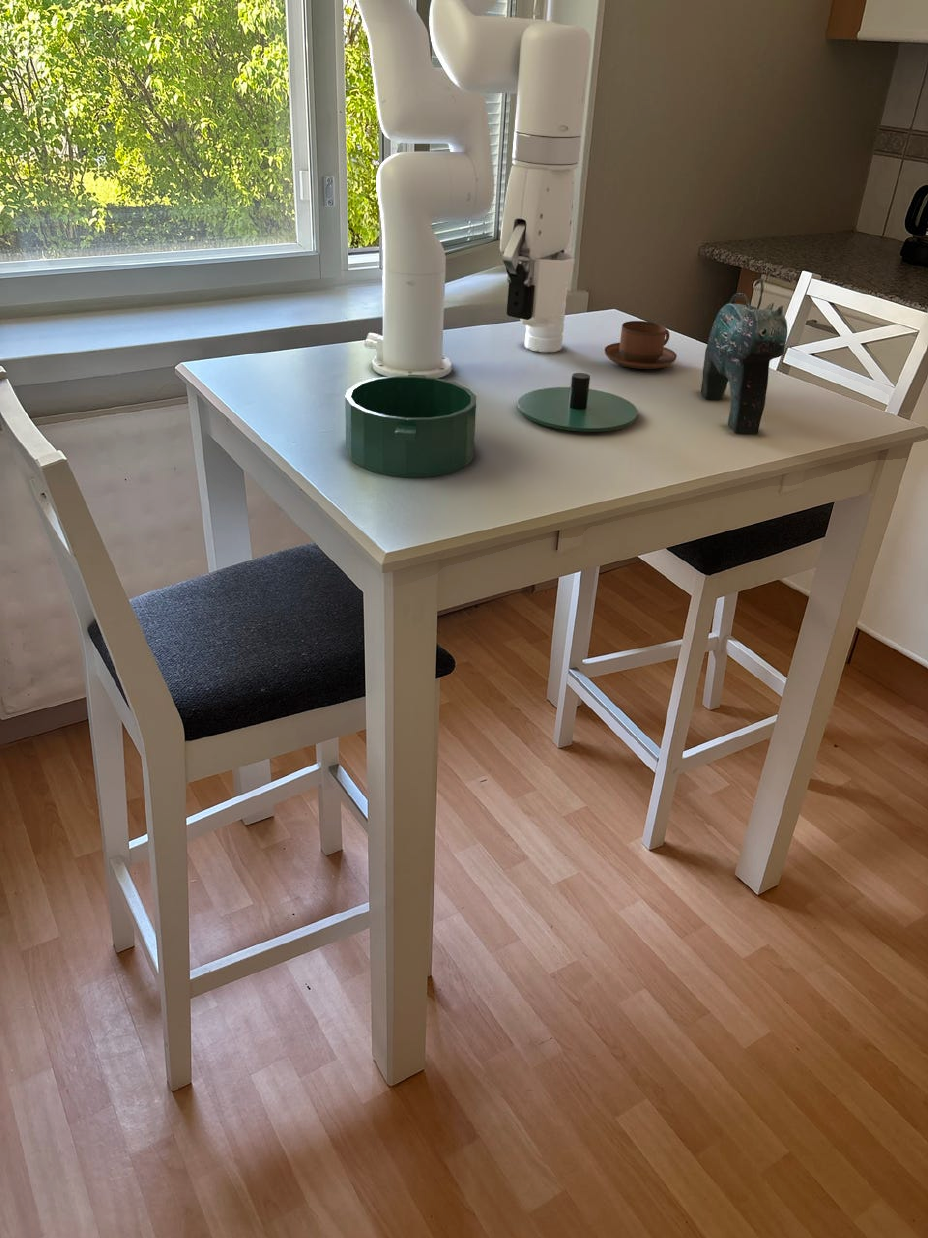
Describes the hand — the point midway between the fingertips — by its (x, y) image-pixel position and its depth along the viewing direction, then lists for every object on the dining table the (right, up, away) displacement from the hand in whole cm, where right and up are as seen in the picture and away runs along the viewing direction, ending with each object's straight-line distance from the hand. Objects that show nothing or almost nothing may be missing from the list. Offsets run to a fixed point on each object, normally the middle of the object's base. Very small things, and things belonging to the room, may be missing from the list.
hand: (531, 310), depth 121 cm
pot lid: (+8, -8, +22) cm, 25 cm away
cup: (0, -1, +1) cm, 2 cm away
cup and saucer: (+21, +5, +45) cm, 50 cm away
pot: (-15, -16, +7) cm, 23 cm away
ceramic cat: (+31, -8, +25) cm, 40 cm away
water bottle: (+5, +10, +51) cm, 52 cm away
